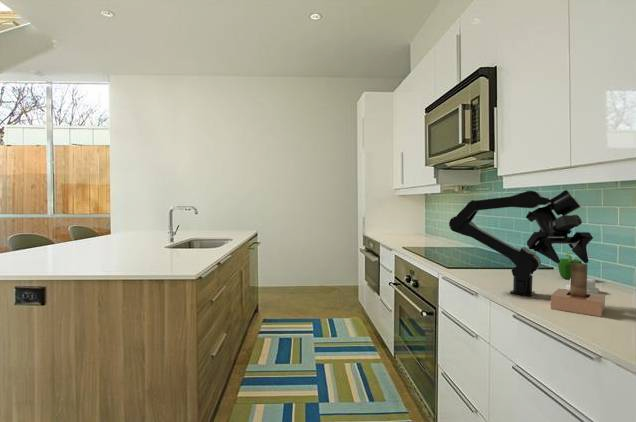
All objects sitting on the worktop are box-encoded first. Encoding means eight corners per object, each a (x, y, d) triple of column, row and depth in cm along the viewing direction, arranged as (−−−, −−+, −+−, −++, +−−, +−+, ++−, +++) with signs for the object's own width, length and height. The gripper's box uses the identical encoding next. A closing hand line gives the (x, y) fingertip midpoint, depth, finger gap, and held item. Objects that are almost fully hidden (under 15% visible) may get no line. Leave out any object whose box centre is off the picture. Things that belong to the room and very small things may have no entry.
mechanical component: (586, 288, 148) (559, 287, 148) (587, 276, 148) (559, 275, 148) (606, 294, 138) (576, 294, 138) (606, 281, 138) (577, 281, 138)
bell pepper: (584, 281, 160) (584, 256, 160) (560, 279, 163) (560, 254, 163) (578, 277, 168) (579, 253, 168) (556, 276, 171) (557, 252, 171)
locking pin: (570, 305, 121) (572, 262, 121) (586, 308, 119) (588, 264, 118) (568, 308, 118) (570, 264, 118) (585, 311, 116) (586, 265, 115)
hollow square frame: (557, 301, 127) (558, 288, 127) (604, 308, 119) (605, 294, 119) (550, 308, 117) (551, 295, 117) (601, 316, 110) (601, 302, 110)
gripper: (533, 205, 124) (558, 245, 113) (589, 206, 126) (618, 245, 116) (517, 229, 132) (538, 268, 121) (569, 229, 134) (595, 268, 124)
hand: (573, 262), depth 120 cm, fingers open, 9 cm apart
